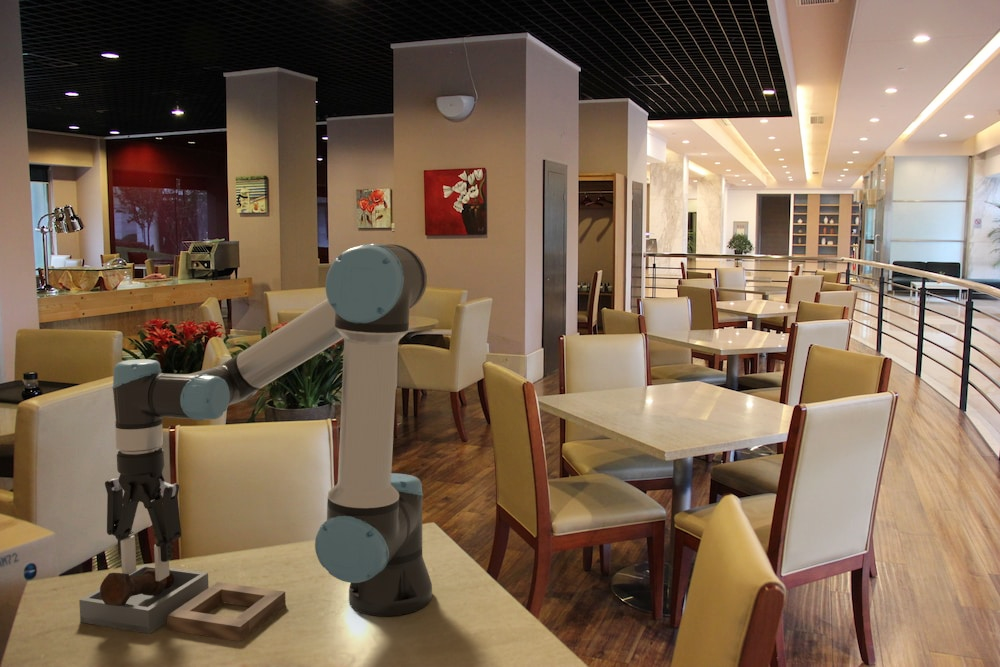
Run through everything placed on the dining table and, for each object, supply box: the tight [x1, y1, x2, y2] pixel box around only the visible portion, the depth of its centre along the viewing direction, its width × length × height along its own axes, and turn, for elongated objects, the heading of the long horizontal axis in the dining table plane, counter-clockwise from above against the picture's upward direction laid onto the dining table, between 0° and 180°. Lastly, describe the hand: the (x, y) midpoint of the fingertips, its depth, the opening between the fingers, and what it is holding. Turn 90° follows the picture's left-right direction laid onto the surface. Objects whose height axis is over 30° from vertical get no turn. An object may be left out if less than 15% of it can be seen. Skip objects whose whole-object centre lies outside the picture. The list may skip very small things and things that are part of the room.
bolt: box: [99, 569, 174, 606], centre depth 143 cm, size 6×5×15 cm
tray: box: [78, 563, 210, 634], centre depth 144 cm, size 14×16×4 cm
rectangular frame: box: [166, 581, 287, 642], centre depth 141 cm, size 14×14×2 cm
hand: (145, 575), depth 144 cm, fingers open, 6 cm apart
